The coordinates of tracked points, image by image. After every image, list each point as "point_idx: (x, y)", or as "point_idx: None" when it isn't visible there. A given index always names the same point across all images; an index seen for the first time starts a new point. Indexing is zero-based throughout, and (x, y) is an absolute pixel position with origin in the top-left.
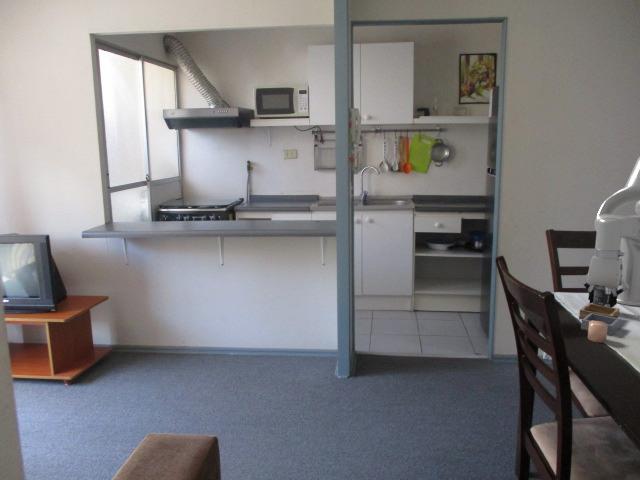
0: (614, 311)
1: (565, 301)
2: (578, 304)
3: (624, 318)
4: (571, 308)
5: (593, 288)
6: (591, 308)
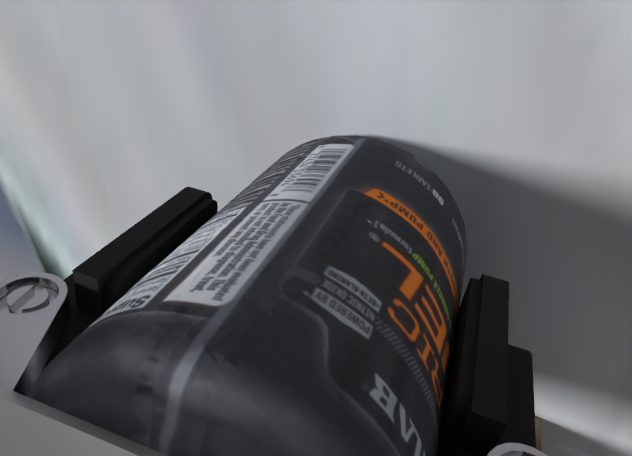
0: None
1: None
2: (90, 68)
3: (612, 410)
4: (94, 249)
5: (47, 339)
6: None
